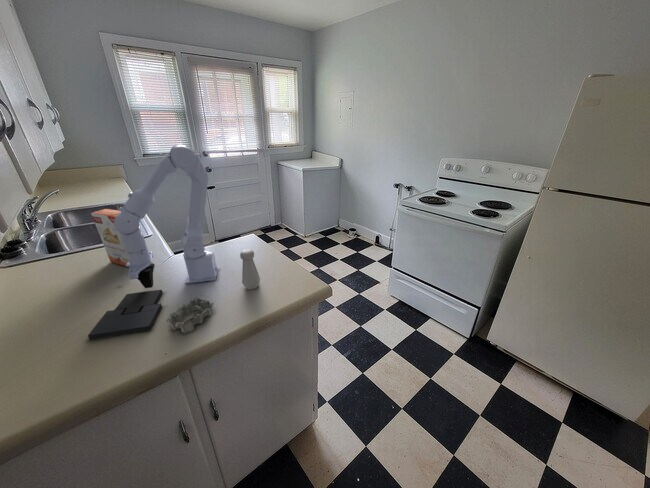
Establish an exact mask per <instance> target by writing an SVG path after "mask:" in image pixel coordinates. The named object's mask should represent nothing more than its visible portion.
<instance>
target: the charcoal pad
mask: <svg viewBox="0 0 650 488" xmlns="http://www.w3.org/2000/svg"><path fill="white" fill-rule="evenodd" d="M162 309H163V306H162V303H157V304H153V305H146V306H144V307H143V308H142V310H141V312H138V313H131V314H125V315H123V314H124V312H125V309H118V310H115V309H112V310H106V312H105V313H104V315H102V316H101V318H100V319H99V321H98V322H97V323H96V324H95V326H94V327H93V328H92V329H91V331H90V332H89V333H88V335H87V337H88V339H89V340H90V341H91V340H98V339H104V338H110V337H116V336H117V337H118V336H122V335H128V334H129V335H130V334H136V333H141V332H148V331H152V329H153V326H154V325H155V322H156V320H157V318H158V316H159V315H160V313H161V311H162Z"/></svg>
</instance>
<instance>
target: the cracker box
mask: <svg viewBox="0 0 650 488" xmlns="http://www.w3.org/2000/svg"><path fill="white" fill-rule="evenodd" d="M119 212H120V211H119V210H117V209H111V208H104V209H100V210H96V211H93V212H92V211H91V212H90V215H91V217H92V221H93V223H94V225H95V227H96V230H97V232H98V234H99V237H100V240H101V242H102V245H103V247H104V250H105V252H106V255H107V257H108V259H109V262H110V263H113V264H117V265H120V266H122V267H123V266H124V267H126V264H127V263H128V262H129V261H128V258H127V255H126V252H125V250H124V247H123V244H122V241H121V237H120V235H119V232H118V231H117V230H116V229H115V227H114V220H115V218H116V216H117V214H118V213H119Z"/></svg>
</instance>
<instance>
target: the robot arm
mask: <svg viewBox="0 0 650 488" xmlns="http://www.w3.org/2000/svg"><path fill="white" fill-rule="evenodd" d="M179 170H181V171H183V172H185V174H186V175H187V176H188V177H189V178H190V190H189V198H188V199H189V201H188V209H187V210H188V211H187V221H186V227H185V232H184V235H182V237H181V241H180V242H181V244H182V251H183V260H184V263H185V267H186V271H187V275H188V276H187V278H186V280H185V284H194V283H195V284H196V283H203V282H209V281H215V280H216V279H217V275H218V271H219V269H218V265H217V261H216V255H215V253H214V252H213V251H207V250H206V248H205V245H204V236H203V227H204V221H205V219H204V218H205V211H206V202H207V192H208V183H209V175H208V171H206V169H205V167H204V165H203V163H202V161H201V159H200V157H199V156H198V155H197V154H196V153H195V152H194V151H193V150H192V149H191V148H189V147H188V146H186V145H184V144H176V145H173V146H172V147H171V148H170V150H169V152H167V153H166V154H165V155H164V156H163V157H162V158H161V159H160V161H158V162H157V165H156V166H155V168H154V169H153V171H152V172H151V174H150V175H149V177H148V179H147V181H146V182H145V184H144V185H143V187H142V188H140V189H135V190H133V191H130V192H129V193H128V194H127V201H126V202H125V203H124V205H123V206H120V207H119V208H118V211H120V212H119V213H118V214H117V216H116V218H115V220H114V227H115V229H116V230H117V231H118V232H119V235H120V237H121V241H122V244H123V247H124V250H125V252H126V255H127V258H128V261H129V262H128V263H127V264H126V266H125V267H126V268H129V269H128V274H127V276H128V279H129V280H137V281H139V283H141V285H142V286H143V288H144V289H150V288H151V289H152V288H153V286H154V270H155V263H153V262H154V261H153V258H154V254H153V251H149V247H148V245H147V242H146V240H145V236H144V233H143V232H142V229H141V227H140V222H141V220H143V219H144V218H145V216H146V215H147V214H148V213H149V211H150V209H151V208H152V206H153V205H154V203H155V201H156V199H155V197H154V194H155V193H156V192H157V191H158V189H159V188H160V186H162V183H163V182H164V181H165V180H166V179H167V178H168V176H169V175H171V174H173V173H177V172H179Z"/></svg>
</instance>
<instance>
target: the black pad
mask: <svg viewBox="0 0 650 488" xmlns="http://www.w3.org/2000/svg"><path fill="white" fill-rule="evenodd" d="M162 296H163V290H162V289H156V290H155V289H154V290H147V291H139V292H132V293H126V294H125V295H124V297H123V298H122V300H121V301H120V302H119V303H118V305H117V306H116V308H115V309H114V310H118V309H125V312H124V314H123V315H125V314H131V313H138V312H141V310H142V308H143V307H144V306H146V305H153V304H159V301H160V299H161V297H162Z"/></svg>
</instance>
